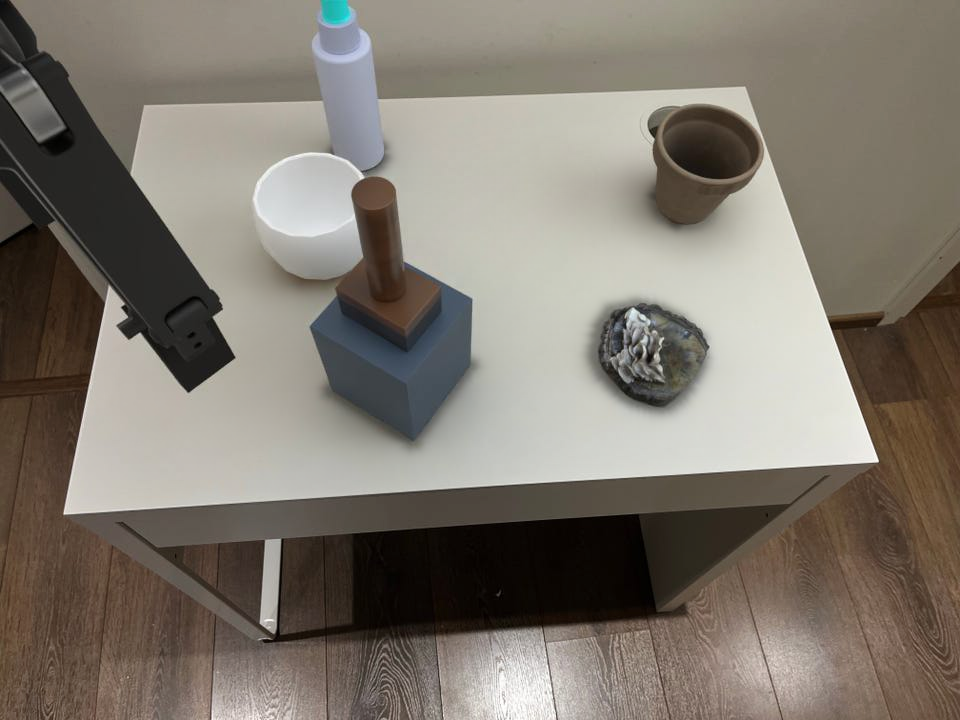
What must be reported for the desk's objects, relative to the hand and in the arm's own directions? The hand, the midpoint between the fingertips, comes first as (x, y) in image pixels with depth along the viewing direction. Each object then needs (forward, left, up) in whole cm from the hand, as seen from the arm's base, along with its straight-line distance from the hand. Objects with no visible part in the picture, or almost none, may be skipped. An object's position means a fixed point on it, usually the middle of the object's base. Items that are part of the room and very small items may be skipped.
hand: (129, 287), depth 35 cm
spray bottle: (+19, -38, -33) cm, 54 cm away
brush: (-3, -16, -21) cm, 26 cm away
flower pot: (-17, -53, -33) cm, 65 cm away
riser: (-3, -16, -33) cm, 36 cm away
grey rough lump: (-23, -32, -33) cm, 51 cm away
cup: (+13, -24, -33) cm, 43 cm away
